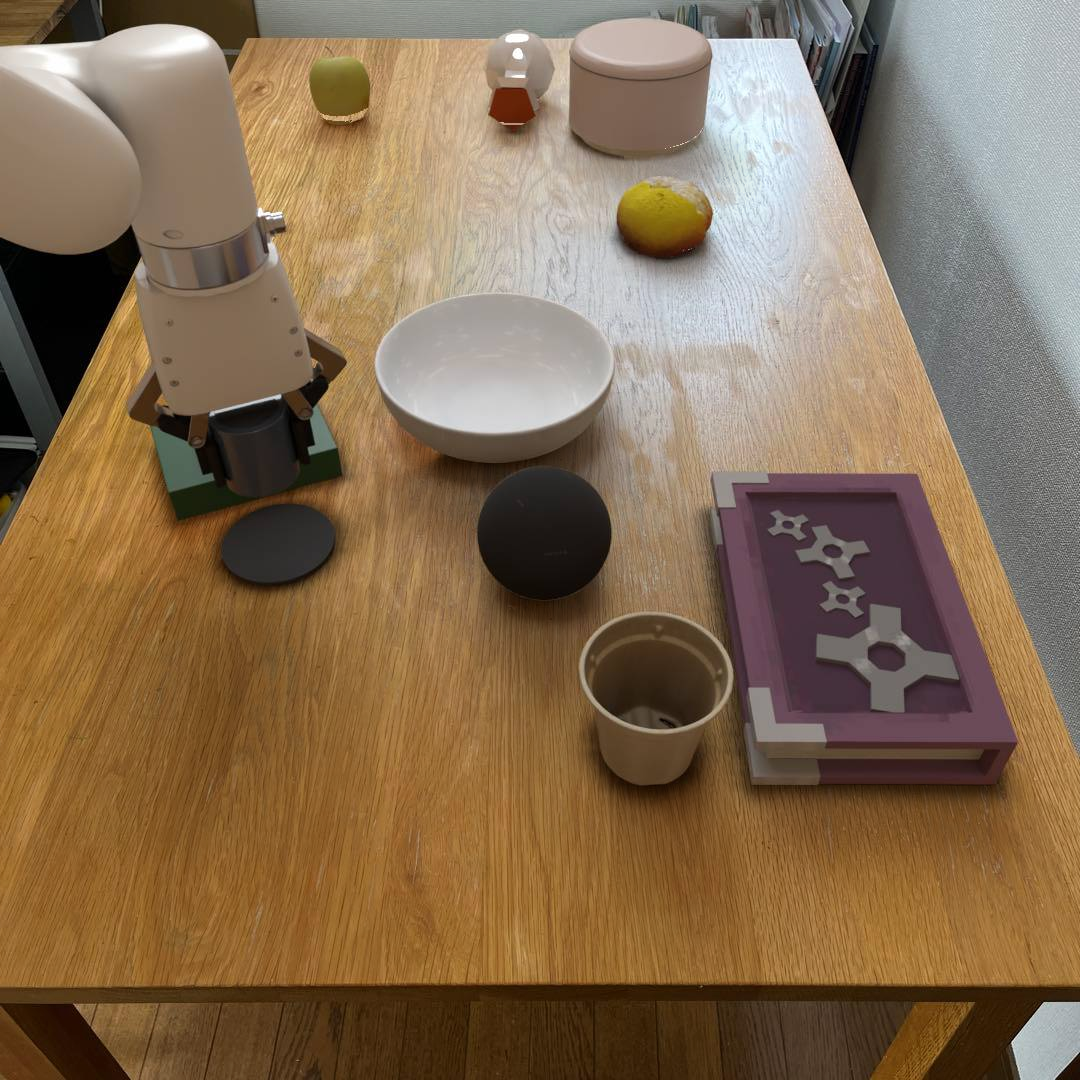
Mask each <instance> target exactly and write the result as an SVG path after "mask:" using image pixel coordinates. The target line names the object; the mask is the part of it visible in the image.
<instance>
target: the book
mask: <svg viewBox="0 0 1080 1080" xmlns="http://www.w3.org/2000/svg"><path fill="white" fill-rule="evenodd" d="M710 484H711V490H712V496H713V503H714V508H712V507H711V508H710V514H709V520H710V527H711V533H712V539H713V546H714V552H715V554H716V555H717V563H718V569H719V575H720V580H721V588H722V594H723V600H724V601H723V602H724V607H725V613H726V614H725V615H726V619H727V626H728V633H729V638H730V645H731V651H732V658H733V664H734V670H735V677H736V683H737V689H738V695H739V702H740V709H741V714H742V715H741V716H742V721H743V738H744V743H745V750H746V757H747V762H748V769H749V776H750V783H751V785H752V786H819V785H821V784H822V785H840V784H841V785H993V786H994V785H996V783H997V781H998V780H999V777H1000V776H1001V774H1002V772H1003V770H1004V769H1005V767H1006V765H1007V763H1008V762H1009V760H1010V758H1011V756H1012V754H1013V753H1014V752H1015V750H1016V747H1017V745H1018V744H1019V740H1018V738H1017V735H1016V732H1015V730H1014V727H1013V724H1012V721H1011V719H1010V716H1009V713H1008V711H1007V708H1006V705H1005V703H1004V700H1003V697H1002V694H1001V692H1000V689H999V686H998V684H997V681H996V679H995V676H994V674H993V672H992V668H991V666H990V663H989V661H988V658H987V655H986V651H985V650H984V646H983V644H982V642H981V639H980V636H979V634H978V631H977V628H976V626H975V623H974V621H973V618H972V615H971V612H970V610H969V607H968V605H967V602H966V599H965V597H964V594H963V591H962V588H961V586H960V583H959V580H958V578H957V576H956V573H955V570H954V568H953V565H952V563H951V559H950V557H949V554H948V551H947V550H946V549H947V548H946V546H945V544H944V541H943V538H942V536H941V532H940V531H939V528H938V525H937V523H936V519H935V517H934V515H933V512H932V509H931V507H930V504H929V501H928V498H927V496H926V493H925V491H924V488H923V485H922V483H921V481H920V477H919V474H918V473H847V472H846V473H845V472H844V473H842V472H841V473H838V472H837V473H830V472H829V473H828V472H827V473H817V472H815V473H812V472H810V473H808V472H806V473H805V472H802V473H795V472H788V473H786V472H785V473H783V472H782V473H781V472H779V473H778V472H777V473H775V472H769V473H768V472H767V470H766V471H764V470H763V471H761V470H759V471H757V470H756V471H755V470H754V471H753V470H752V471H751V470H749V471H745V470H744V471H741V470H727V471H726V470H719V471H718V470H712V471H711V478H710Z"/></svg>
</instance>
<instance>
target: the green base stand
mask: <svg viewBox="0 0 1080 1080" xmlns="http://www.w3.org/2000/svg"><path fill="white" fill-rule="evenodd" d="M313 411H314V414H313V416H312V417H311V418H310V421H311V426H312V431H313V436H314V441H315V445H314V446H311V447H308V452H309V456H310V461H311V463H310V464H307V465H304V464H301V463H300V461H299V464H300V472H299V475H298V477H297V479H296V480H295V481H294V482H293V483H292V484H291V485H290V486H289V487H288V488H286V489H285V490H283V491H281V492H279V493H276V494H273V495H270V496H265V497H245V496H241V495H238V494H236V493H234V492H233V491H231V490H230V489H229V488H228V486H227V485H224V487H222V488H219V489H217V486H216V483H215V479H214V476H213V473H210V474H206V475H203V474H202V471H201V468H200V465H199V462H198V458H197V455H196V452H195V449H194V448H192V447H190V446H189V444H188V442H187V441H184V440H182V439H179V438H177V437H174V436H172V435H169V434H167V433H165V432H163V431H161V430H160V428H158V427H155V426H153V427H152V426H150V425H149V427H150V431H151V435H152V436H151V437H152V439H153V443H154V446H155V450H156V454H157V458H158V461H159V465H160V468H161V473H162V476H163V479H164V484H165V487H166V490H167V494H168V497H169V500H170V503H171V505H172V509H173V512H174V514H175V517H176V521H178V522H180V521H183V520H187V519H191V518H195V517H199V516H202V515H206V514H209V513H213V512H217V511H220V510H224V509H227V508H232V507H235V506H238V505H242V504H246V503H249V502H253V501H257V500H260V499H264V498H267V497H268V498H269V497H271V496H275V495H279V494H283V493H287V492H289V491H290V492H291V491H293V490H296V489H300V488H305V487H308V486H312V485H314V484H315V485H316V484H318V483H323V482H326V481H329V480H334V479H336V478H341V477H343V476H344V475H343V470H342V464H341V458H340V453H339V448H338V445H337V443H336V441H335V439H334V437H333V435H332V433H331V430H330V428H329V426H328V423H327V422H326V419H325V417H324V415H323V413H322V411H321V409H320V406H319V404H318V403H317V404H316V406H315V407H314V408H313ZM298 459H299V458H298Z"/></svg>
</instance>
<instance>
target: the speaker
mask: <svg viewBox="0 0 1080 1080" xmlns="http://www.w3.org/2000/svg"><path fill="white" fill-rule="evenodd" d="M611 521H612V520H611V515H610V513H609V510H608V508H607V505H606V503H605V501H604V499H603V498H602V496H601V495H600V493H599V491H598V490H597V489H596V488H595V487H594V486H593V485H592V484H591V482H589V481H588V480H587V479H585V478H584V477H582V476H581V475H579V474H578V473H576V472H574V471H572V470H568V469H566V468H563V467H558V466H553V465H536V466H529V467H526V468H523V469H519V470H517V471H515V472H513V473H511V474H510V475H508V476H507V477H505V478H503V479H501V481H500V482H498V484H496V485H495V487H494V488H493V489H492V490H491V491H490V492H489V494H488V495H487V497H486V498H485V501H484V502H483V504H482V506H481V509H480V512H479V515H478V519H477V525H476V526H477V528H476V541H477V547H478V551H479V555H480V558H481V559H482V562H483V564H484V566H485V568H486V569H487V571H488V572H489V574H490V575H491V576H492V578H493V579H494V580H495V581H496V582H497V583H498V584H500V585H501V586H502V587H503V588H504V589H506V590H507V591H509V592H511V593H512V594H514V595H517V596H519V597H521V598H524V599H529V600H533V601H542V602H543V601H544V602H545V601H555V600H560V599H565V598H568V597H570V596H572V595H575V594H576V593H578V592H580V591H581V590H583V589H585V587H587V586H588V585H589V584H590V583H591V582H593V581H594V580H595V578H596V577H597V576H598V575H599V574H600V572H601V570H602V569H603V568H604V565H605V564H606V561H607V559H608V556H609V554H610V549H611V545H612V535H613V534H612V533H613V530H612V522H611Z"/></svg>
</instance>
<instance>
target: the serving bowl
mask: <svg viewBox="0 0 1080 1080" xmlns="http://www.w3.org/2000/svg"><path fill="white" fill-rule="evenodd" d="M373 369H374V376H375V381H376V383H377V386H378V389H379V392H380V395H381V397H382V400H383V402H384V405H385V406H386V408H387V409H388V411H389V413H390V414H391V416H392V418H393V419H394V420H395V421H396V422H397V424H398V425H399V426H400V427H401V428H402V429H403V430H404V431H405V432H406V433H407V434H409V435H410V436H412V438H414V439H415V440H417V441H418V442H419V443H421V444H422V445H424V446H426V447H427V448H430V449H432V450H434V451H436V452H438V453H441V454H443V455H446V456H449V457H452V458H455V459H460V460H462V461H463V460H464V461H469V462H476V463H486V464H503V463H513V462H514V463H515V462H520V461H526V460H530V459H534V458H538V457H540V456H543V455H546V454H549V453H551V452H553V451H556V450H557V449H560V448H562V447H563V446H565V445H567V444H568V443H570V442H571V441H573V440H574V439H575V438H577V437H579V436H580V435H581V434H582V433H583V432H584V431H586V430H587V428H589V426H590V425H591V424H592V423H593V422H594V421H595V420H596V418H597V417H598V415H599V414H600V412H601V410H602V409H603V407H604V406H605V403H606V401H607V399H608V396H609V393H610V391H611V387H612V384H613V381H614V377H615V373H616V372H615V371H616V357H615V351H614V349H613V346H612V344H611V342H610V340H609V338H608V337H607V335H606V334H605V333H604V332H603V330H602V329H601V328H600V327H599V325H597V324H596V323H595V322H594V321H593V320H591V319H590V318H589V317H587V316H586V315H584V314H583V313H581V312H579V311H577V310H575V309H574V308H572V307H569V306H567V305H564V304H563V303H560V302H557V301H555V300H552V299H547V298H544V297H540V296H535V295H530V294H524V293H516V292H515V293H514V292H479V293H478V292H477V293H470V294H463V295H457V296H452V297H447V298H445V299H442V300H437V301H435V302H432V303H429V304H427V305H425V306H422V307H421V308H418V309H416V310H414V311H413V312H411V313H409V314H408V315H406V316H404V317H403V318H401V319H400V320H399V321H398V322H396V323H395V324H394V325H393V326H392V327H391V328H390V329H389V330H388V331H387V332H386V334H384V337H383V338H382V339H381V341H380V342H379V345H378V347H377V348H376V352H375V355H374V368H373Z"/></svg>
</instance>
